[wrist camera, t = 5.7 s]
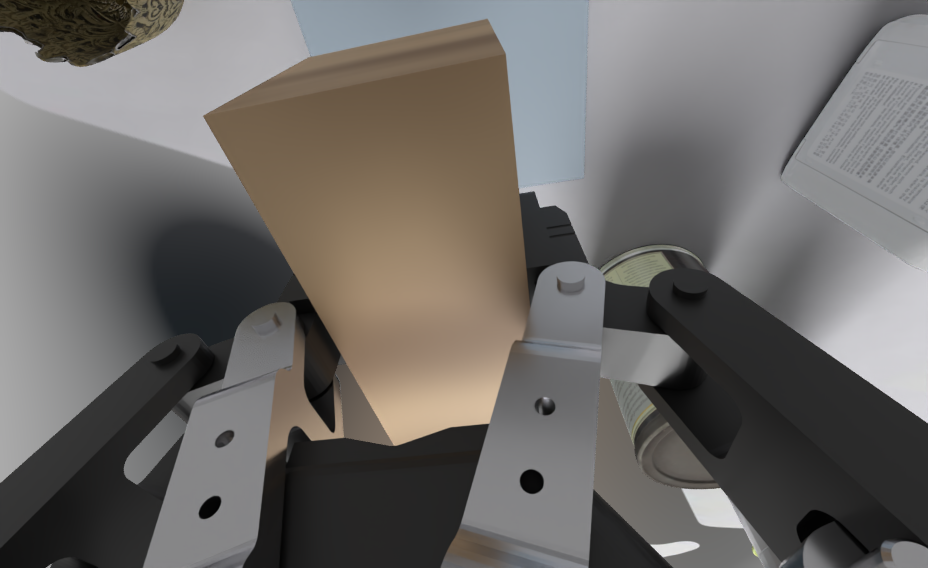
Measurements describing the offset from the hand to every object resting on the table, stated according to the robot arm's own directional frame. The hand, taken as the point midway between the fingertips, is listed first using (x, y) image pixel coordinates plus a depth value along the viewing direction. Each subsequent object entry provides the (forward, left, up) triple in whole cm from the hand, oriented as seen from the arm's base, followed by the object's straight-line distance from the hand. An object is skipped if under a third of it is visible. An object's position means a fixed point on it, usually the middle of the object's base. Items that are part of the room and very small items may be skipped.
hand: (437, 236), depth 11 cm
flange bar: (0, 0, -1) cm, 1 cm away
